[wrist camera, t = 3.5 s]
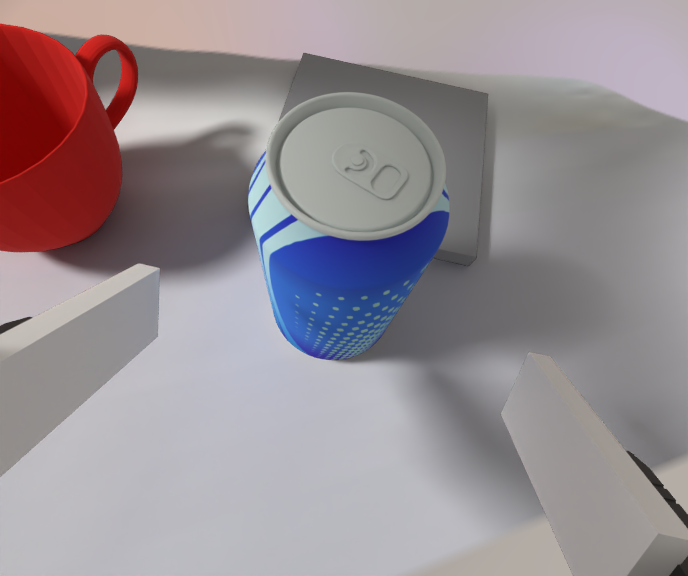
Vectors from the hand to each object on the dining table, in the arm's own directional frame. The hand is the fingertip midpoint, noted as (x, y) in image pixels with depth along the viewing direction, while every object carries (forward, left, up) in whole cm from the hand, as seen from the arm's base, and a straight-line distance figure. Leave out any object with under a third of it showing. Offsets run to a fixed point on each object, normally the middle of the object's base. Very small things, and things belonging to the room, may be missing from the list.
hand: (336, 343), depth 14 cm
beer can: (-1, +6, -14) cm, 15 cm away
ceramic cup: (-22, +11, -14) cm, 28 cm away
